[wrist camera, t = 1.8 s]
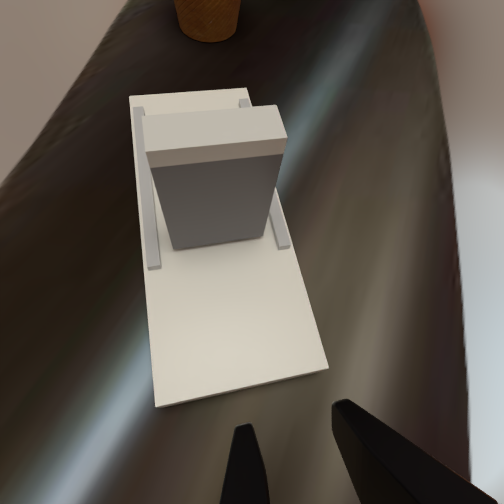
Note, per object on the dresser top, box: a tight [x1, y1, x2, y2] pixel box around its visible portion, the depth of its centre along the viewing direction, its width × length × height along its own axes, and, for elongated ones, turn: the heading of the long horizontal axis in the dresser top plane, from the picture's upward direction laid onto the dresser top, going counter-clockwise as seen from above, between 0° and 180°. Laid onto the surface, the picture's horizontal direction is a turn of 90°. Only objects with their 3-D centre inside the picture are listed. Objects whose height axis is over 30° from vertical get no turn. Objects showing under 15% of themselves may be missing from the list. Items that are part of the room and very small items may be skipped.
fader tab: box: [142, 105, 287, 249], centre depth 18 cm, size 2×6×9 cm, turn 102°
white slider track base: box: [129, 88, 329, 408], centre depth 25 cm, size 24×10×3 cm, turn 12°
